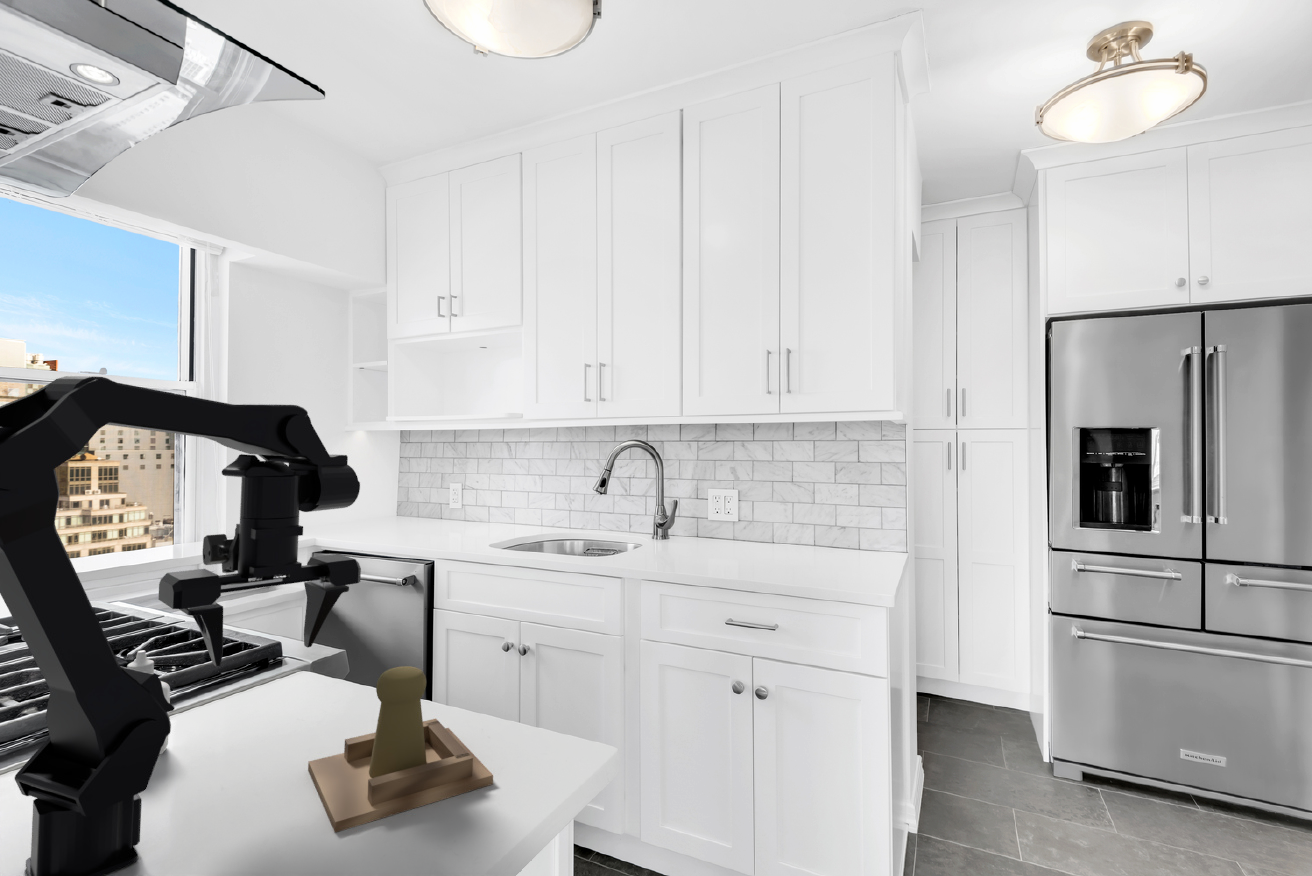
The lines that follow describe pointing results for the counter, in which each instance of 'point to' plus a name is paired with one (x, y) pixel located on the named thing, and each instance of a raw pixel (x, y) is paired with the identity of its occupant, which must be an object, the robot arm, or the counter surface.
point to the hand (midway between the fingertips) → (264, 655)
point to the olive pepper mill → (399, 722)
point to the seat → (394, 778)
